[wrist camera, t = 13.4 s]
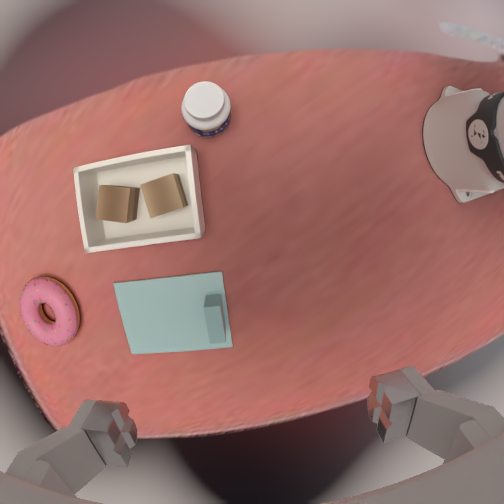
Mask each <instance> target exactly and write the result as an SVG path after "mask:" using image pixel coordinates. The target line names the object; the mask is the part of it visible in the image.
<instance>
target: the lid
mask: <svg viewBox="0 0 504 504" xmlns="http://www.w3.org/2000/svg"><path fill="white" fill-rule="evenodd" d="M113 284H114V289H115V293H116V297H117V301H118V306H119V310H120V313H121V317H122V321H123V325H124V329H125V332H126V336H127V339H128V343H129V346H130V349H131V353H132V354H144V353H164V352H179V351H193V350H205V349H216V348H226V347H233V344H232V337H231V331H230V324H229V317H228V310H227V303H226V296H225V289H224V282H223V275H222V271H214V272H206V273H197V274H188V275H179V276H170V277H160V278H151V279H142V280H132V281H123V282H114V283H113Z"/></svg>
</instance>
